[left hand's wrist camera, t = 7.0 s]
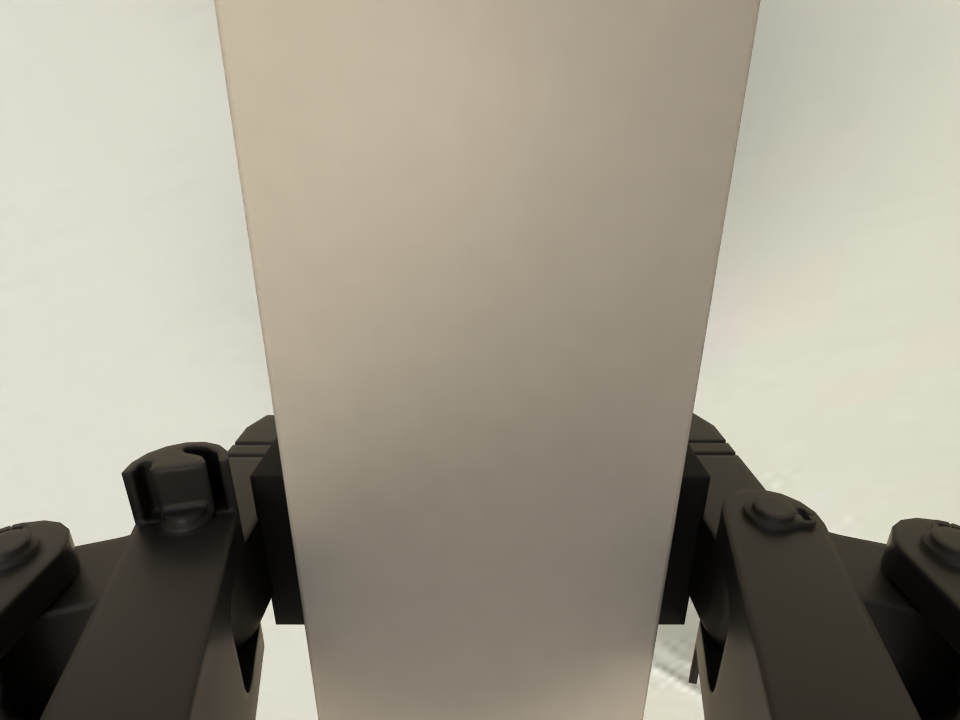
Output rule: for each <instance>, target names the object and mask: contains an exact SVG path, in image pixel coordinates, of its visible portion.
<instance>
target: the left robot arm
mask: <svg viewBox="0 0 960 720" xmlns="http://www.w3.org/2000/svg"><path fill="white" fill-rule="evenodd" d="M122 477H123V480H124V484H125V488H126V491H127V495H128V498H129V502H130V506H131V509H132V513H133V516H134V520H135V524H136V525H135V527H134V529H133V531H132V533H131V535H128V536H125V537H121V538H116V539H111V540H106V541H101V542H96V543H91V544H86V545H81V546H76V547H75V546H74V543H73V540H72V537H71V534H70V531H69V529H68V528H67V527H65V526H64V525H63V524H61V523H59V522H52V521H45V520H44V521H36V522H27V523H20V524H15V525H13V526H11V527H10V526H8V527H5V528H2V529H0V720H255V718H256V710H257V702H258V694H259V686H260V677H261V669H262V661H263V653H264V640H263V633H262V628H261V623H260V622H261V619H262V617H263V615H264V613H265V611H266V608H267V606H268V604H269V602H270V599H271V598H272V604H273V610H274V615H275V621H276V624H305V623H304V616H303V609H302V602H301V595H300V589H299V582H298V575H297V568H296V561H295V554H294V547H293V540H292V533H291V527H290V520H289V513H288V506H287V499H286V492H285V485H284V478H283V471H282V464H281V458H280V451H279V444H278V437H277V430H276V423H275V416H274V415H267V416H265V417H263V418H262V419H260V420H259V421H257V422H255V423H254V424H252V425H250V426H249V427H247V428H246V429H245V431H244V432H243V433H242V434H241V436H240V437H239V438H238V439H237V441H236V442H235V445H233V446H232V447H231V448H230V449H229V451H226V450H225V449H224V448H223V447H221V446H220V445H217V444H212V443H208V442H187V443H182V444H177V445H171V446H167V447H164V448H161V449H158V450H156V451H153V452H150V453H148V454H146V455H144V456H142V457H141V458H139V459H137V460H135V461H134V462H132V463H131V464H130V465H129V466H128V467H127V468H126V469H125V470H124V471H123V472H122ZM689 596H690V598H691V600H692V602H693V604H694V607H695V609H696V611H697V613H698V615H699V618H700V623H699V628H698V633H697V639H696V644H695V649H694V654H693V659H692V665H691V670H690V677H689V683H694V684H696V683H697V678H698V673H699V676H700V684H701V692H702V701H703V709H704V717H705V720H960V526H959V525H956V524H953V523H952V524H949V522H945V521H940V520H931V519H922V518H913V519H905V520H901V521H899V522H898V523H897V524H895V525H894V526H893V527H892V530H891V533H890V536H889V539H888V542H887V544H882V543H877V542H872V541H867V540H862V539H857V538H852V537H847V536H842V535H838V534H834V533H830V532H828V530H827V528H826V526H825V524H824V522H823V521H822V520H821V519H820V518H819V516H818V515H817V514H816V513H815V512H814V511H813V510H811V509H810V508H808V507H807V506H806V505H804V504H803V503H801V502H799V501H797V500H795V499H792V498H790V497H788V496H785V495H783V494H780V493H775V492H771V491H767V490H765V489H764V487H763V486H762V485H761V484H760V482H759V481H758V480H757V479H756V477H755V476H754V475H753V474H752V472H751V471H750V470H749V469H748V467H747V466H746V465H745V464H744V462H743V461H742V460H741V459H740V458H739V456H738V455H735V451H734V450H733V449H732V448H731V446H730V445H729V444H728V443H726V440H725V439H724V438H723V436H722V435H721V434H720V433H719V431H718V430H717V429H716V428H715V426H713V425H712V424H710V423H709V422H707V421H705V420H704V419H702V418H700V417H699V416H697V415H695V414H694V413H693V415H692V421H691V427H690V433H689V439H688V445H687V451H686V458H685V464H684V470H683V476H682V482H681V488H680V494H679V500H678V506H677V513H676V519H675V525H674V531H673V537H672V543H671V549H670V555H669V562H668V568H667V574H666V580H665V586H664V592H663V598H662V604H661V611H660V617H659V623H658V624H684V623H685V618H686V612H687V606H688V601H689Z"/></svg>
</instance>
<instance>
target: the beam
mask: <svg viewBox="0 0 960 720" xmlns="http://www.w3.org/2000/svg"><path fill="white" fill-rule="evenodd" d="M214 3H215V9H216V16H217V23H218V30H219V37H220V44H221V51H222V58H223V65H224V71H225V78H226V85H227V92H228V99H229V106H230V113H231V120H232V127H233V134H234V140H235V147H236V154H237V161H238V168H239V175H240V182H241V189H242V196H243V202H244V209H245V216H246V223H247V230H248V237H249V244H250V251H251V258H252V265H253V271H254V278H255V285H256V292H257V299H258V306H259V313H260V320H261V327H262V333H263V340H264V347H265V354H266V361H267V368H268V375H269V382H270V389H271V396H272V402H273V409H274V416H275V423H276V430H277V437H278V444H279V451H280V458H281V464H282V471H283V478H284V485H285V492H286V499H287V506H288V513H289V520H290V527H291V533H292V540H293V547H294V554H295V561H296V568H297V575H298V582H299V589H300V595H301V602H302V609H303V616H304V623H305V630H306V637H307V644H308V651H309V658H310V664H311V671H312V678H313V685H314V692H315V699H316V706H317V713H318V720H643V715H644V708H645V702H646V696H647V690H648V684H649V678H650V672H651V666H652V659H653V653H654V647H655V641H656V635H657V629H658V623H659V617H660V611H661V604H662V598H663V592H664V586H665V580H666V574H667V568H668V562H669V555H670V549H671V543H672V537H673V531H674V525H675V519H676V513H677V506H678V500H679V494H680V488H681V482H682V476H683V470H684V464H685V458H686V451H687V445H688V439H689V433H690V427H691V421H692V415H693V409H694V402H695V396H696V390H697V384H698V378H699V372H700V366H701V360H702V354H703V347H704V341H705V335H706V329H707V323H708V317H709V311H710V305H711V298H712V292H713V286H714V280H715V274H716V268H717V262H718V256H719V250H720V243H721V237H722V231H723V225H724V219H725V213H726V207H727V201H728V194H729V188H730V182H731V176H732V170H733V164H734V158H735V152H736V146H737V139H738V133H739V127H740V121H741V115H742V109H743V103H744V97H745V90H746V84H747V78H748V72H749V66H750V60H751V54H752V48H753V42H754V35H755V29H756V23H757V17H758V11H759V5H760V0H214Z"/></svg>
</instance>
